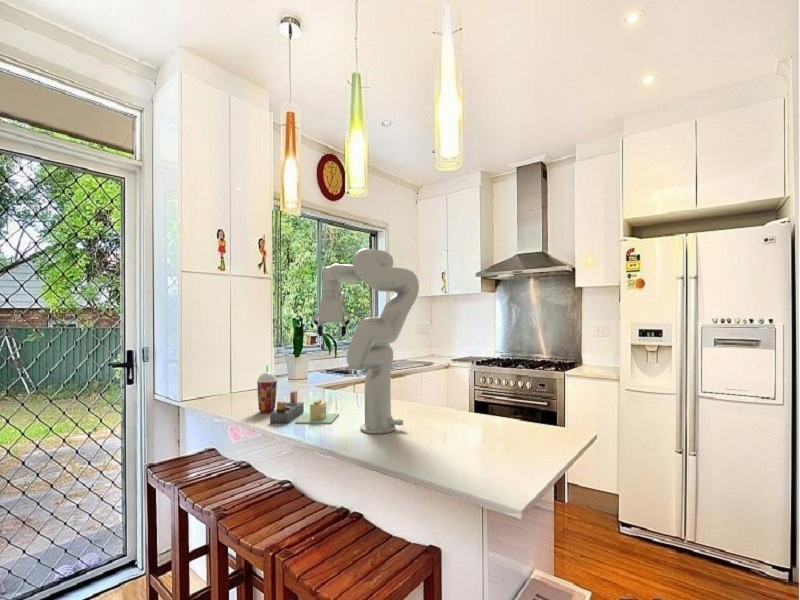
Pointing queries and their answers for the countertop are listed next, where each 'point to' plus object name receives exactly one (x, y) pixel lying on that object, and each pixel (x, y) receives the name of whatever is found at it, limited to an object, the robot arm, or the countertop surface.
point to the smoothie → (267, 392)
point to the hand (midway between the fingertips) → (331, 336)
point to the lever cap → (317, 410)
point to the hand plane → (287, 410)
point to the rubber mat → (326, 420)
